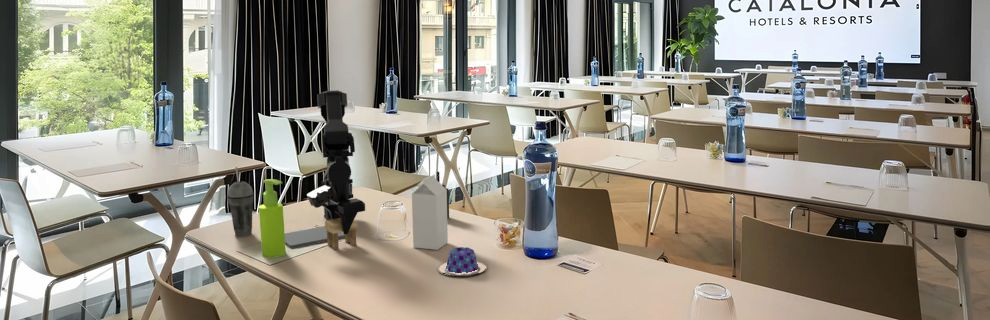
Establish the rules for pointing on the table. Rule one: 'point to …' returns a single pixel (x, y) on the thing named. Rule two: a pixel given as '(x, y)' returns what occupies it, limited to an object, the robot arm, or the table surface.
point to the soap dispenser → (272, 222)
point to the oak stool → (335, 228)
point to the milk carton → (429, 215)
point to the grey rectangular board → (307, 237)
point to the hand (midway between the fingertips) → (341, 231)
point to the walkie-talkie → (447, 194)
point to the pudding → (461, 260)
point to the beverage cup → (241, 207)
